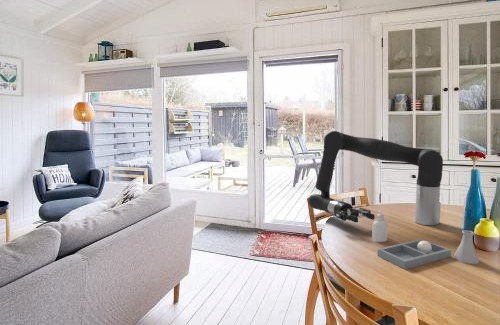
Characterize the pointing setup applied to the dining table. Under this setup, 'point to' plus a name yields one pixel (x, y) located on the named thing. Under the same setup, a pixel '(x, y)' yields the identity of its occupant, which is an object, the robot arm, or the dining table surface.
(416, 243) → the holder
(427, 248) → the ceramic egg
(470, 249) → the flask
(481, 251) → the dining table surface
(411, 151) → the robot arm
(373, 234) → the eye dropper bottle
